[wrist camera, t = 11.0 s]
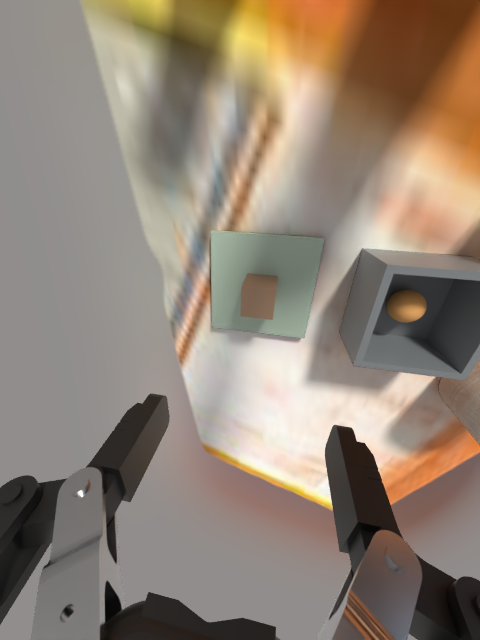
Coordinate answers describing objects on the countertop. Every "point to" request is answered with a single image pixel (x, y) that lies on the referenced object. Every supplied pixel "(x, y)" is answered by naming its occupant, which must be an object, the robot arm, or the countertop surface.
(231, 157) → the countertop surface
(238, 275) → the lid
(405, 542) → the robot arm
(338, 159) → the countertop surface
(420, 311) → the ball
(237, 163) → the countertop surface
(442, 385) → the planter
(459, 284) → the bin
